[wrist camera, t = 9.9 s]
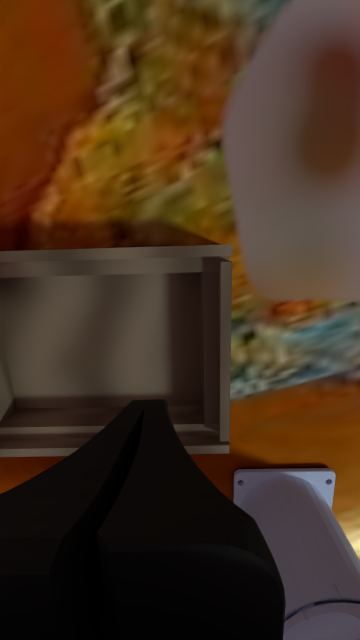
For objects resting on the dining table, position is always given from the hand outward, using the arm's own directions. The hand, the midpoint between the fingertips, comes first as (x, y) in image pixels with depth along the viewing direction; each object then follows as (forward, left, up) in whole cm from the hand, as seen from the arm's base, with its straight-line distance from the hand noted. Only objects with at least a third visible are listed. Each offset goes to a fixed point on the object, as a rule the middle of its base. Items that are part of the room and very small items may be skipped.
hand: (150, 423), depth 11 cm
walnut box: (0, +5, -10) cm, 11 cm away
